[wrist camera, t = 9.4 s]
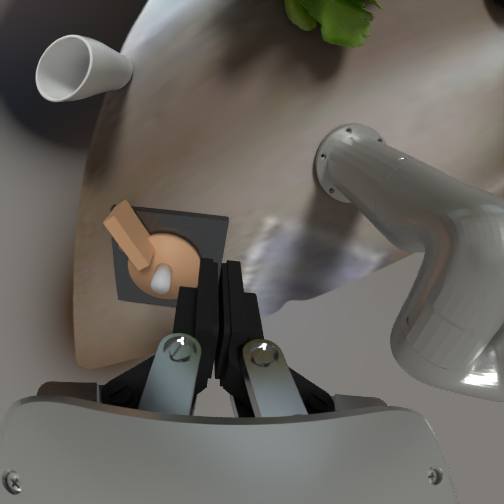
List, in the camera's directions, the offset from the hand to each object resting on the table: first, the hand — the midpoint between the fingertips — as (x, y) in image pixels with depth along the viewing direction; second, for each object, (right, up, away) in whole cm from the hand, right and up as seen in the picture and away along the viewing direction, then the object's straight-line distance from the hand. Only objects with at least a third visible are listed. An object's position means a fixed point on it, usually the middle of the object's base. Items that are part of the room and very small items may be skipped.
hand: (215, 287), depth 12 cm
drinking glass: (-17, +26, +17) cm, 35 cm away
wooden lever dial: (-14, +2, +30) cm, 33 cm away
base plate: (-13, 0, +33) cm, 35 cm away
